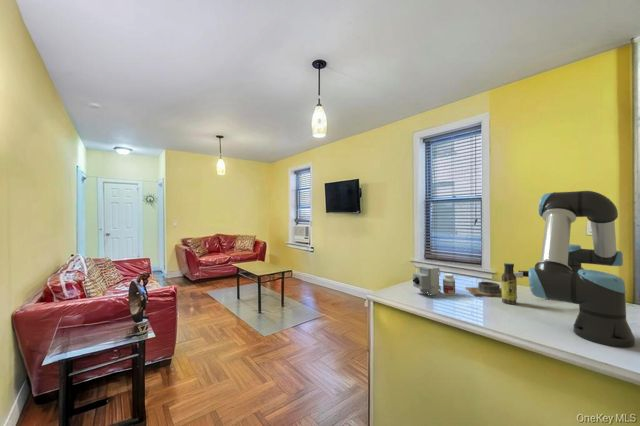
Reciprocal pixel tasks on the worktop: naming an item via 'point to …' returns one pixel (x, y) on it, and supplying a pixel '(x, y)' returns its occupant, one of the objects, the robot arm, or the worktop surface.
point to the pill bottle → (449, 284)
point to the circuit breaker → (427, 279)
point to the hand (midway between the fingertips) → (524, 278)
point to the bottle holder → (486, 289)
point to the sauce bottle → (509, 284)
